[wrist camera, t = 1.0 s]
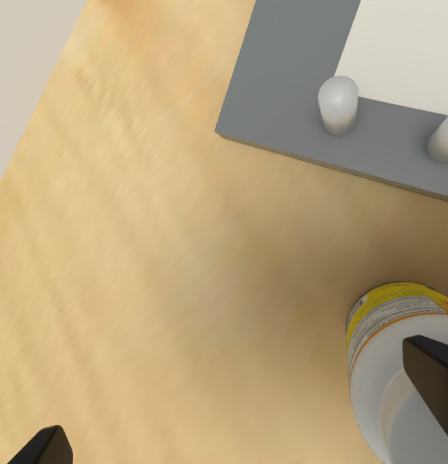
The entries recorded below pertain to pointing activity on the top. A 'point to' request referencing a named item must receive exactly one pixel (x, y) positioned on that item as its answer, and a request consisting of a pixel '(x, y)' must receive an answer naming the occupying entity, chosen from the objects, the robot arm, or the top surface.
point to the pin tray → (294, 100)
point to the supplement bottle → (394, 371)
